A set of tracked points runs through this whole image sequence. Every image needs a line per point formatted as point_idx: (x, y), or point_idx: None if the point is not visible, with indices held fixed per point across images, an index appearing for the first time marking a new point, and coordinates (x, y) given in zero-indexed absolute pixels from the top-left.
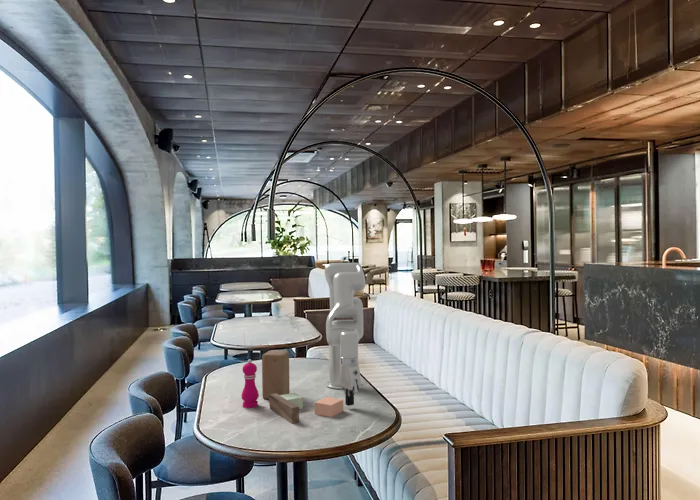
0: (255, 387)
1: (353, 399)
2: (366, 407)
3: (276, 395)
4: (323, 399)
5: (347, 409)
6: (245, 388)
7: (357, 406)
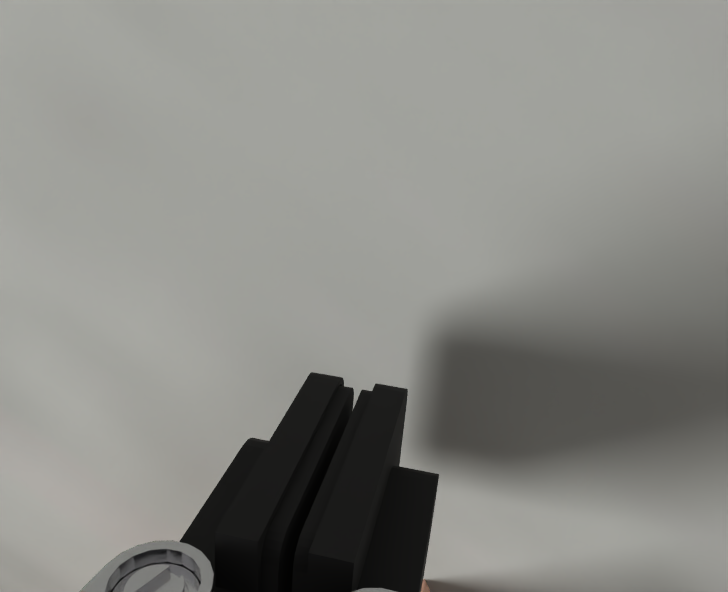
0: None
1: (380, 473)
2: (587, 63)
3: None
4: None
5: None
6: None
7: (361, 196)
